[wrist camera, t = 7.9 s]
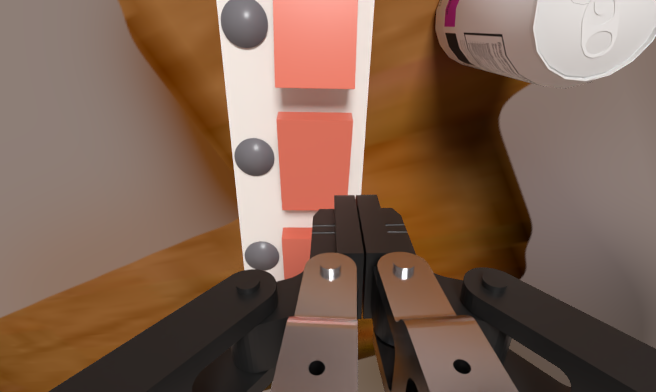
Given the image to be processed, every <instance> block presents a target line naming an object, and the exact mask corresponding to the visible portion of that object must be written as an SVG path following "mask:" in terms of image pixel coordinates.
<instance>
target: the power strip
mask: <svg viewBox="0 0 656 392" xmlns="http://www.w3.org/2000/svg"><path fill="white" fill-rule="evenodd" d="M217 10H218V19H219V29H220V39H221V48H222V58H223V68H224V77H225V87H226V96H227V106H228V116H229V125H230V135H231V144H232V154H233V164H234V173H235V183H236V192H237V202H238V211H239V221H240V231H241V240H242V250H243V260H244V269H245V270H250V269H258V270H263V271H266V272H269V273H270V274H272V275H273V276H274V278H275V279H276V282H277V281H281V280H284V266H283V252H282V231H283V227H300V228H312V223H313V216H314V215H315V214H316V212H317V211H318V210H282V199H281V184H280V168H279V153H278V138H277V122H276V119H277V115H278V112H335V113H352V117H353V130H352V144H351V157H350V171H349V184H348V195H355V198H356V195H361V186H362V171H363V157H364V143H365V128H366V114H367V100H368V86H369V71H370V57H371V43H372V28H373V14H374V0H358V17H357V44H356V72H355V89H304V88H275V70H274V30H273V0H217Z"/></svg>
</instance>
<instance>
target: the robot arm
mask: <svg viewBox="0 0 656 392" xmlns="http://www.w3.org/2000/svg"><path fill="white" fill-rule="evenodd" d="M362 310H363V318H372V320H373V326H374V327H373V345H374V349H375V353H376V357H377V362H378V365H379V370H380V374H381V378H382V383H383V387H384V391H385V392H656V349H655V348H653V347H651V346H649V345H647V344H645V343H643V342H641V341H639V340H637V339H635V338H633V337H631V336H629V335H627V334H625V333H623V332H621V331H619V330H617V329H615V328H613V327H611V326H610V325H608V324H606V323H604V322H602V321H600V320H598V319H596V318H594V317H592V316H590V315H588V314H586V313H584V312H582V311H580V310H578V309H576V308H574V307H572V306H570V305H568V304H566V303H564V302H562V301H560V300H558V299H556V298H554V297H552V296H550V295H548V294H546V293H544V292H543V291H541V290H539V289H536V288H535V287H532V286H531V285H529V284H527V283H525V282H523V281H521V280H519V279H517V278H515V277H513V276H511V275H509V274H507V273H505V272H502V271H499V270H496V269H492V268H475V269H472V270H470V271H468V272H467V273H466V274H465V276H464V280H463V281H462V280H457V279H452V278H447V277H443V276H440V275H437V274H435V273H433V272H432V270H431V268H430V266H429V265H428V263H427V262H426V261H425V260H424V259H422V258H421V257H419V256H417V255H416V254H415V251H414V248H413V246H412V243H411V241H410V238H409V235H408V233H407V230H406V228H405V226H404V223H403V220H402V217H401V215H400V214H398V213H397V212H396V211H395V210H394V209H392V208H380V204H379V201H378V197H377V195H356V198H355V195H334V209H319V210H318V211H317V212H316V214H315V215H314V216H313V223H312V237H311V250H310V259H309V260H308V261H307V263H306V265H305V268H304V271H303V272H301V273H300V274H298V275H297V276H294V277H292V278H289V279H285V280H281V281H277V282H276V279H275V278H274V276H273V275H272V274H270V273H269V272H266V271H263V270H258V269H250V270H244V271H240V272H238V273H235V274H233V275H231V276H230V277H228V278H227V279H225V280H223V281H222V282H220V283H219V284H217V285H216V286H214V287H212V288H211V289H209V290H208V291H206V292H205V293H203V294H201V295H200V296H198V297H197V298H195V299H194V300H192V301H190V302H189V303H187V304H186V305H184V306H183V307H181V308H179V309H178V310H176V311H175V312H173V313H172V314H170V315H168V316H167V317H165V318H164V319H162V320H161V321H159V322H157V323H156V324H154V325H153V326H151V327H150V328H148V329H146V330H145V331H143V332H142V333H140V334H139V335H137V336H135V337H134V338H132V339H131V340H129V341H128V342H126V343H124V344H123V345H121V346H120V347H118V348H116V349H115V350H113V351H112V352H110V353H109V354H107V355H105V356H104V357H102V358H101V359H99V360H98V361H96V362H94V363H93V364H91V365H90V366H88V367H87V368H85V369H83V370H82V371H80V372H79V373H77V374H76V375H74V376H72V377H71V378H69V379H68V380H66V381H65V382H63V383H61V384H60V385H58V386H57V387H55V388H54V389H52V390H50V391H49V392H262V391H263V390H264V389H265V388H266V387H267V386H268V385H269V384H270V383H271V382H272V381H273V383H272V387H271V392H358V322H357V319H361V313H362ZM512 338H513V339H514V340H516V341H518V342H519V343H521V344H522V345H524V346H525V347H527V348H529V349H530V350H532V351H533V352H535V353H536V354H538V355H540V356H541V357H543V358H544V359H546V360H548V361H549V362H551V363H552V364H554V365H555V366H557V367H558V368H560V369H561V370H562V371H563V372H564V373H565V374H566V375H567V377H568V378H569V380H570V383H571V387H568V386H565V385H563V384H561V383H560V382H558V381H557V380H555V379H554V378H552V377H551V376H549V375H548V374H546V373H544V372H543V371H541V370H540V369H539V368H537V367H535V366H534V365H533V364H531V363H529V362H528V361H526V360H525V359H524V358H522V357H520V356H519V355H517V354H516V353H514V352H513V351H511V350H510V349H509V346H510V342H511V339H512ZM222 353H223V354H222ZM206 366H207V367H206Z"/></svg>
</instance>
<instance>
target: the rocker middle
mask: <svg viewBox="0 0 656 392" xmlns="http://www.w3.org/2000/svg"><path fill="white" fill-rule="evenodd" d="M276 122H277V138H278V153H279V168H280V184H281V199H282V210H319V209H334V195H348V184H349V171H350V157H351V144H352V130H353V117H352V113H335V112H278V115H277V119H276Z"/></svg>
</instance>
